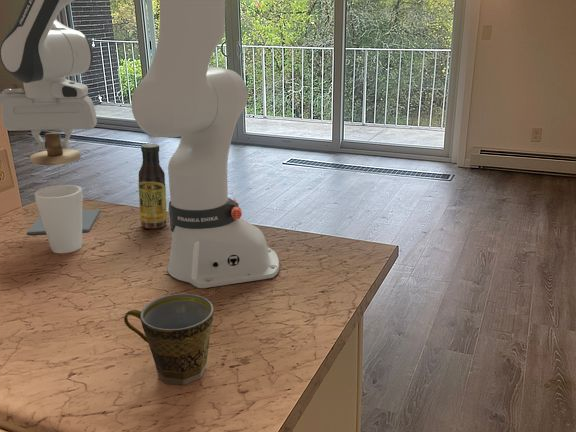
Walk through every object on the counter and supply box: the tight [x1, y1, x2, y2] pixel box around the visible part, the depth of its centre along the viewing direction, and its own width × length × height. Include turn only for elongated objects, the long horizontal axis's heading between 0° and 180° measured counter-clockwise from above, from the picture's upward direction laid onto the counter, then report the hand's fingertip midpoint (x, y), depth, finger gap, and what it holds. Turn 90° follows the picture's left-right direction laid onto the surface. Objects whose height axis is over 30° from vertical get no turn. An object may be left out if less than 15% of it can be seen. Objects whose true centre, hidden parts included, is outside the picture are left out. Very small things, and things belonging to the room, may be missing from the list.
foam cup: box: [34, 184, 84, 254], centre depth 120 cm, size 10×9×13 cm
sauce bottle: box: [137, 143, 168, 230], centre depth 131 cm, size 7×6×20 cm
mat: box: [26, 208, 101, 235], centre depth 136 cm, size 14×14×1 cm
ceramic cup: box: [123, 293, 214, 386], centre depth 79 cm, size 13×10×10 cm
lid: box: [29, 131, 82, 166], centre depth 130 cm, size 11×11×6 cm
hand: (54, 148), depth 130 cm, fingers closed on lid, 3 cm apart
